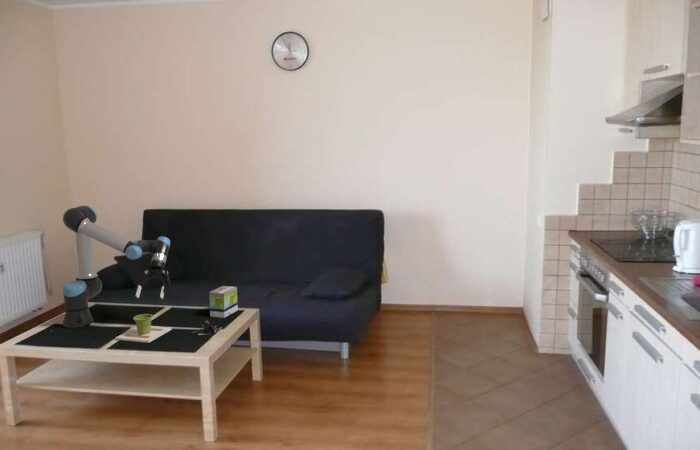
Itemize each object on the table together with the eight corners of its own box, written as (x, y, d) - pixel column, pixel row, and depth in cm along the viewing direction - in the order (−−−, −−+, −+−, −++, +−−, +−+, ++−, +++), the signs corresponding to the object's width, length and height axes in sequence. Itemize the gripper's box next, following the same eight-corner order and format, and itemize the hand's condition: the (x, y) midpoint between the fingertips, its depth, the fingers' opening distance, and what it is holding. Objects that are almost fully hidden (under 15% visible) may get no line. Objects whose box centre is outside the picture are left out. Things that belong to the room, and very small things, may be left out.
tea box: (225, 318, 322) (223, 293, 320) (209, 316, 325) (208, 291, 323) (238, 310, 336) (237, 286, 334) (223, 309, 339) (222, 285, 337)
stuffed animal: (225, 328, 301) (208, 321, 294) (217, 346, 299) (199, 338, 291) (214, 323, 310) (197, 315, 302) (206, 340, 308) (188, 333, 300)
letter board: (115, 339, 292) (115, 337, 292) (139, 326, 311) (139, 325, 310) (148, 342, 286) (148, 340, 286) (171, 329, 305) (171, 327, 305)
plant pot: (147, 336, 293) (146, 319, 291) (131, 335, 295) (129, 319, 293) (157, 329, 302) (155, 314, 301) (141, 329, 304) (139, 313, 302)
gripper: (134, 259, 316) (124, 294, 305) (177, 259, 314) (169, 295, 303) (139, 265, 323) (129, 299, 312) (181, 266, 320) (173, 300, 309)
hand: (149, 297), depth 307 cm, fingers open, 13 cm apart
